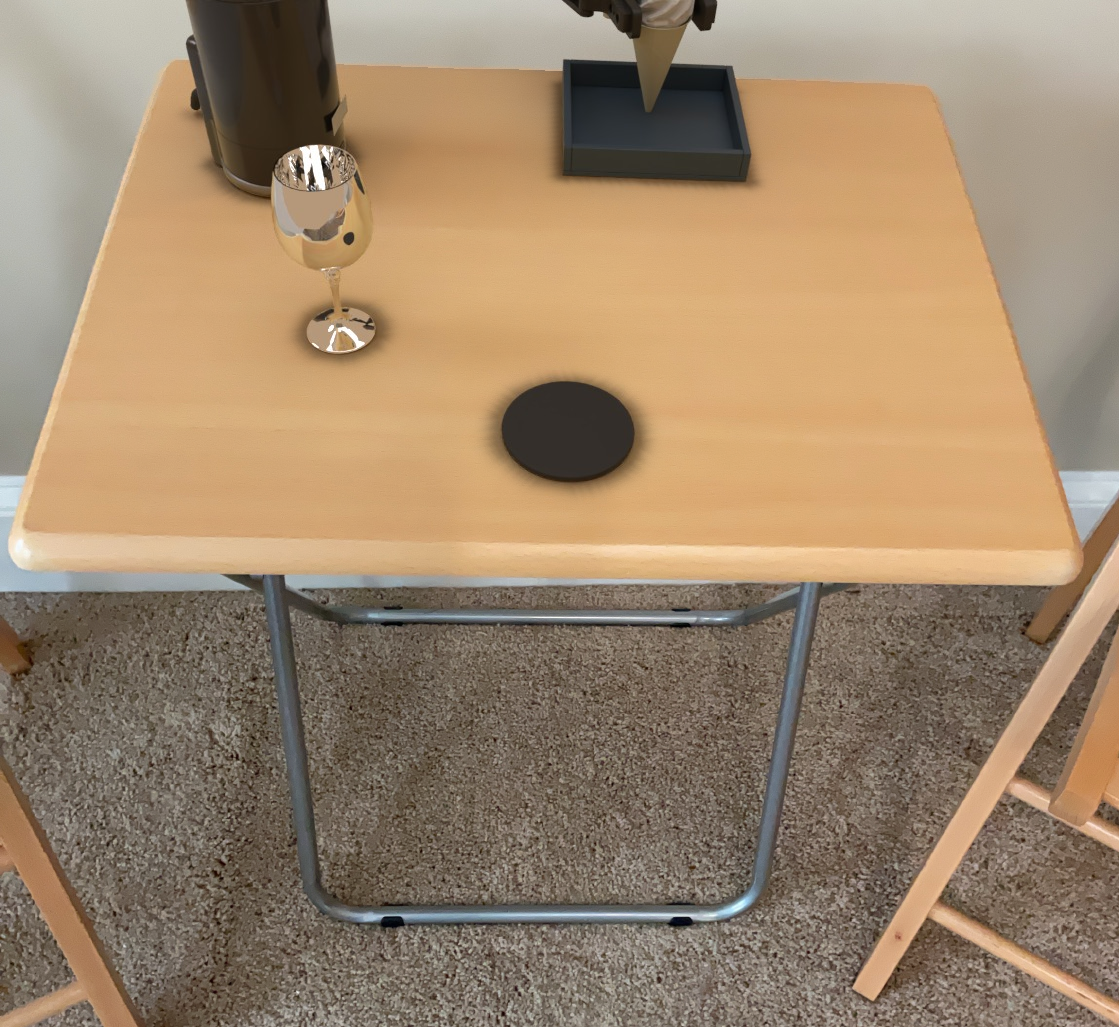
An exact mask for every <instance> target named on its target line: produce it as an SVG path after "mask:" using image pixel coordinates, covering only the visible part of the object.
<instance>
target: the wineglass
mask: <svg viewBox="0 0 1119 1027" xmlns="http://www.w3.org/2000/svg"><path fill="white" fill-rule="evenodd" d="M371 203H372V202H371V199H370V194H369V191H368V189H367V186H366V183H365V181H364V178H363V175H362V173H361V171H360V168H359V165H358V163H357V161H356V159H355V157H354V156H353V155H352V154H350V152H349V151H348V152H347V151H345V150H342V149H340V148H337V147H333V146H328V145H308V146H302V147H298V148H295V149H292V150H290V151H288V152H286V153H285V154H283V155H282V156H281V157H279V158H278V160H277V161H276V162H275V164H274V167H273V174H272V186H271V197H270V204H271V205H270V208H271V220H272V224H273V230H274V233H275V236H276V239H277V241H278V243H279V246H280V247H281V248H282V250H283V252H284V254H286V255H287V256H288V257H289V258H290V259H291V260H292V261H293V262H295V263H296V264H297V265H299V266H302V267H303V268H306V269H308V270H312V271H317V272H323V278H324V280H325V283H327V285H328V288H329V290H330V293H331V297H332V304H333V307H332V308H329V309H326V310H323V311H322V312H319V313H317V314H316V315H315V316H313V318H312V319H311V320H310V321H309V322H308V324H307V327H306V330H305V332H306V338H307V340H308V342H309V343H310V344H311V345H312V346H313V347H314V348H316V349H317V350H319V351H321V352H324V353H328V354H332V355H333V354H335V355H342V354H343V355H344V354H349V353H353V352H356V351H359V350H361V349H363V348H365V347H366V346H367V345H368V344H369V343H370V342H371V341H372V340H373V339H374V338H375V336H376V330H377V328H376V323H375V321H374V319H373V318H372V316H371V315H369V314H368V313H367V312H365V311H364V310H361V309H359V308H355V307H348V306H342V303H341V297H340V282H341V275H342V274H341V270H343V269H345V268H347V267H349V266H351V265H353V264H355V263H356V262H357V261H359V260H360V259H361V258H362V257H363V256H364V255H365V253H366V252H367V250H368V248H369V246H370V244H371V242H372V239H373V234H374V213H373V207H372V204H371Z"/></svg>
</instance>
